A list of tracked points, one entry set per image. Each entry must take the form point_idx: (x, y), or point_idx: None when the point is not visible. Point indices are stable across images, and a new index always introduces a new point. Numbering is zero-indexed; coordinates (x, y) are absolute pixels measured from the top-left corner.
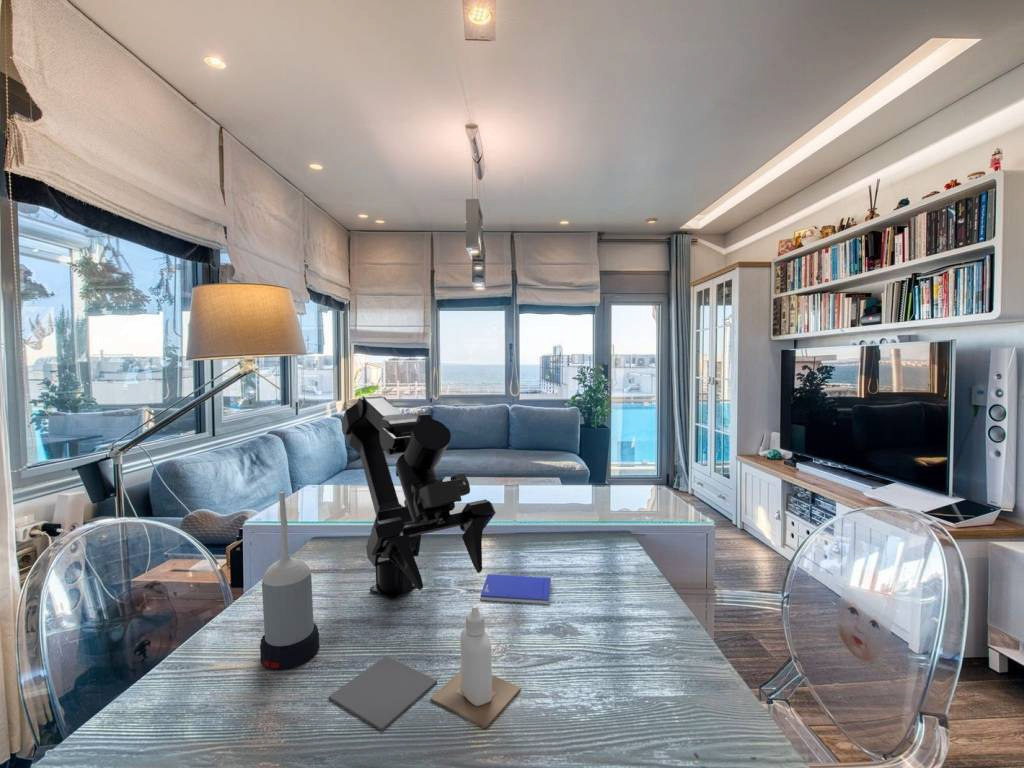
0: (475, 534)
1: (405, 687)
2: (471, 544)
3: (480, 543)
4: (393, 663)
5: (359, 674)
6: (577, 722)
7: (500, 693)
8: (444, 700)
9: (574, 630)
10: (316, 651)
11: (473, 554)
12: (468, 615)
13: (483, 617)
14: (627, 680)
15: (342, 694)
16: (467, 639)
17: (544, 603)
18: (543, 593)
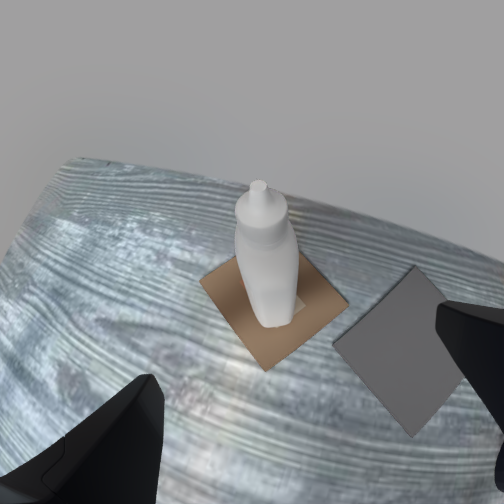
0: (38, 491)
1: (387, 341)
2: (109, 500)
3: (56, 446)
4: (402, 411)
5: (453, 390)
6: (165, 211)
7: (234, 280)
8: (327, 292)
9: (61, 375)
10: (501, 453)
11: (133, 455)
12: (279, 209)
13: (241, 196)
14: (76, 252)
15: None
16: (288, 225)
17: None
18: None
